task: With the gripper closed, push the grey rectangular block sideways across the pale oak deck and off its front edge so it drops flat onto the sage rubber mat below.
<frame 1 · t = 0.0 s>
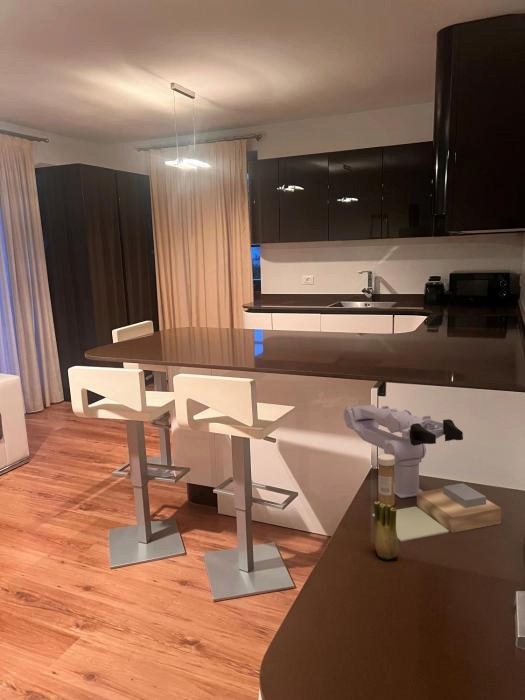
hand: (448, 437, 123), 22 cm above the table, tool horizontal, fingers open, 7 cm apart
fennel bulb: (386, 556, 112), on the table
grey rectangular block: (464, 498, 130), point 4 cm above the table, touching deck
sprinkles bottle: (386, 504, 137), on the table
mat: (409, 523, 126), on the table
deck: (457, 514, 130), on the table
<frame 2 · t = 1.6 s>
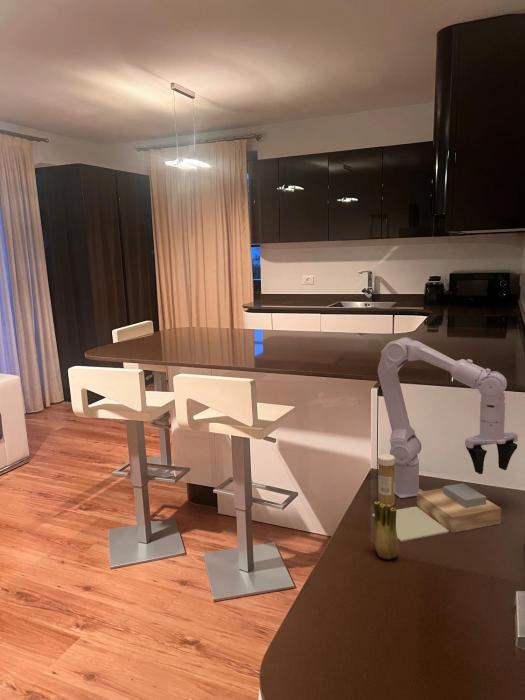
hand: (490, 470, 131), 10 cm above the table, tool pointing down, fingers open, 7 cm apart
nothing on the table moved.
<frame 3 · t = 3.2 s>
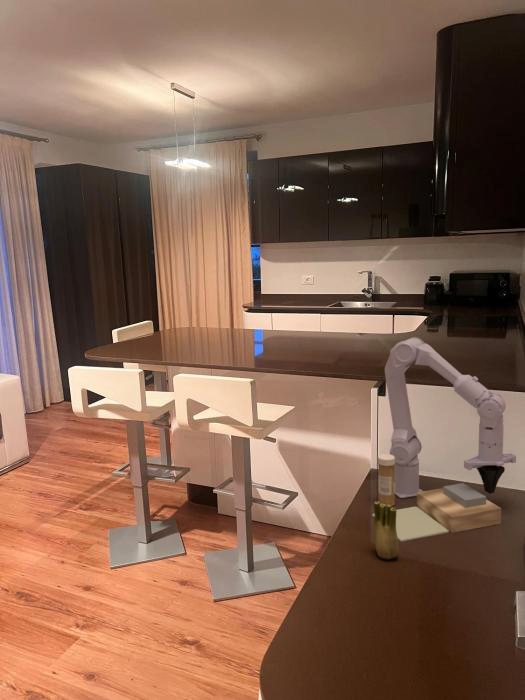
hand: (489, 491, 131), 5 cm above the table, tool pointing down, fingers closed
nothing on the table moved.
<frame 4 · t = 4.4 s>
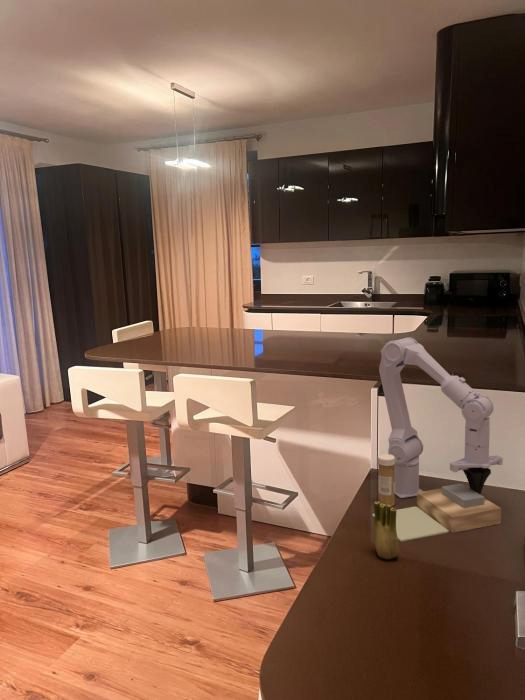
hand: (475, 494, 130), 5 cm above the table, tool pointing down, fingers closed
grey rectangular block: (462, 499, 129), point 4 cm above the table, touching gripper
everything else where it was.
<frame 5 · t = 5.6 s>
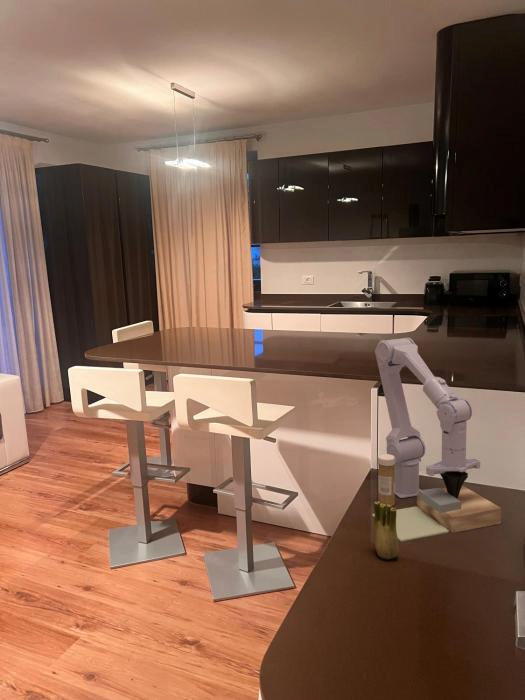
hand: (452, 498, 129), 5 cm above the table, tool pointing down, fingers closed
grey rectangular block: (439, 503, 127), point 4 cm above the table, touching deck
everything else where it was.
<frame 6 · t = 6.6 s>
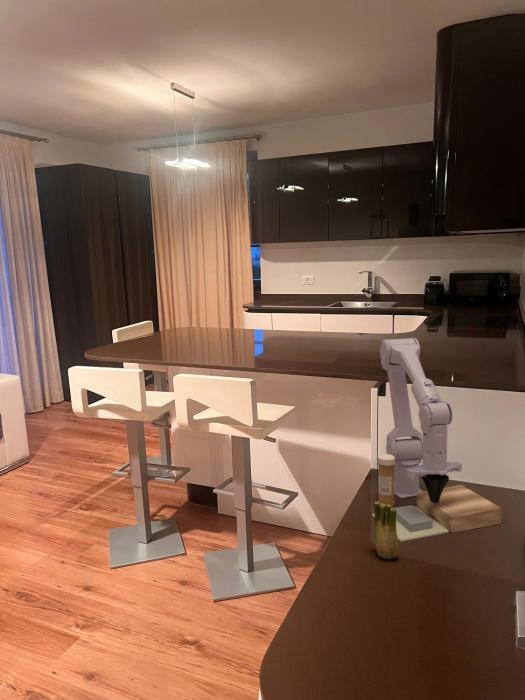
hand: (434, 501, 127), 5 cm above the table, tool pointing down, fingers closed
grey rectangular block: (411, 514, 126), point 2 cm above the table, tilted 180°, touching mat
everything else where it was.
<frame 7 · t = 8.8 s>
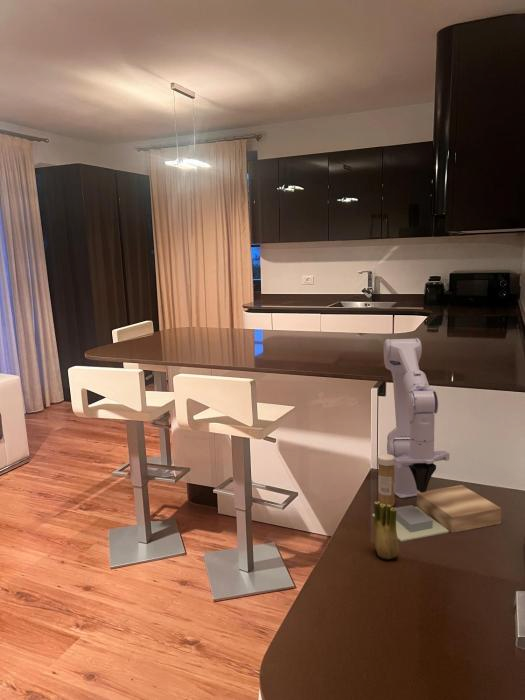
hand: (421, 490, 126), 8 cm above the table, tool pointing down, fingers closed
nothing on the table moved.
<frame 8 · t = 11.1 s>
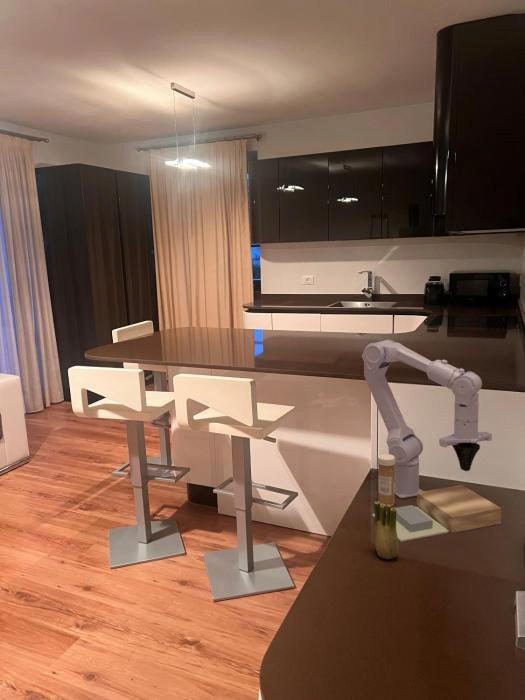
hand: (465, 469, 132), 10 cm above the table, tool pointing down, fingers closed
nothing on the table moved.
at the end: grey rectangular block point 2.4 cm above the table; grey rectangular block inside the target area (1.1 cm from its centre), point 2.4 cm above the table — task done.
